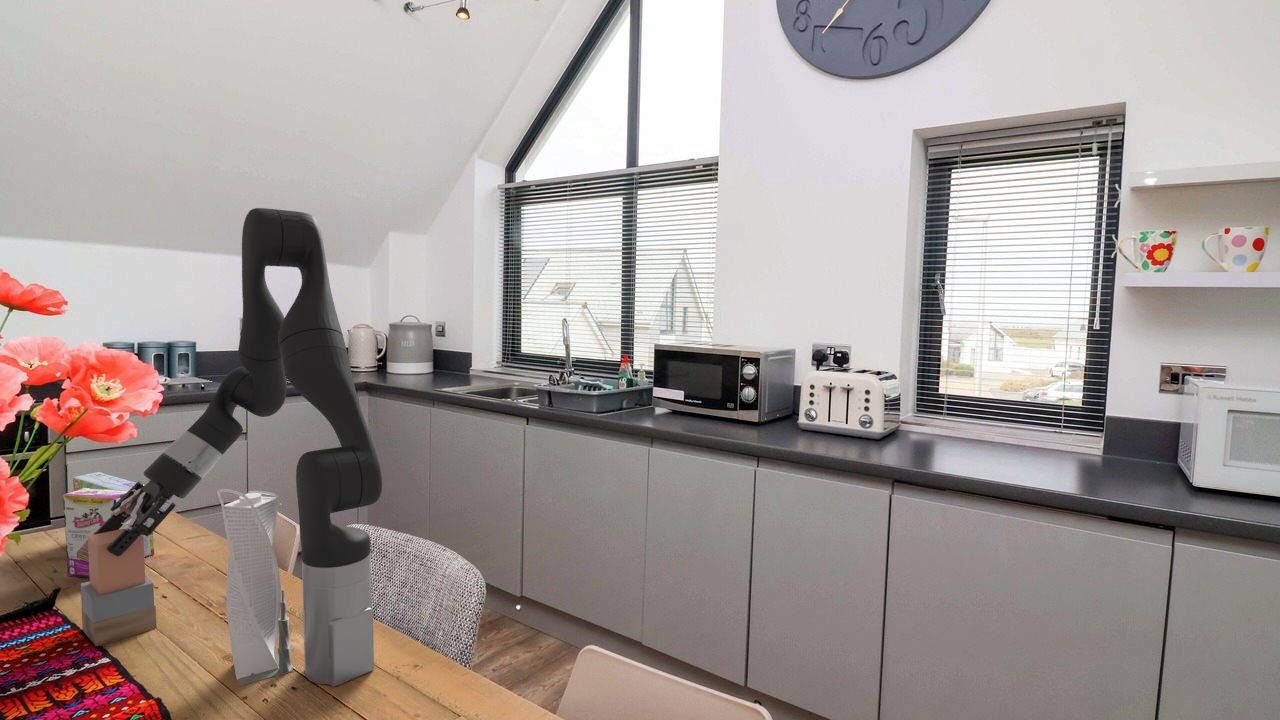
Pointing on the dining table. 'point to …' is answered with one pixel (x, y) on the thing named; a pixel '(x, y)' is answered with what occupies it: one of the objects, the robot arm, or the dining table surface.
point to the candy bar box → (86, 523)
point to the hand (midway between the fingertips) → (105, 546)
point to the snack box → (111, 483)
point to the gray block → (116, 601)
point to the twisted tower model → (255, 589)
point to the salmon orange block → (115, 563)
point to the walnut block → (119, 626)
